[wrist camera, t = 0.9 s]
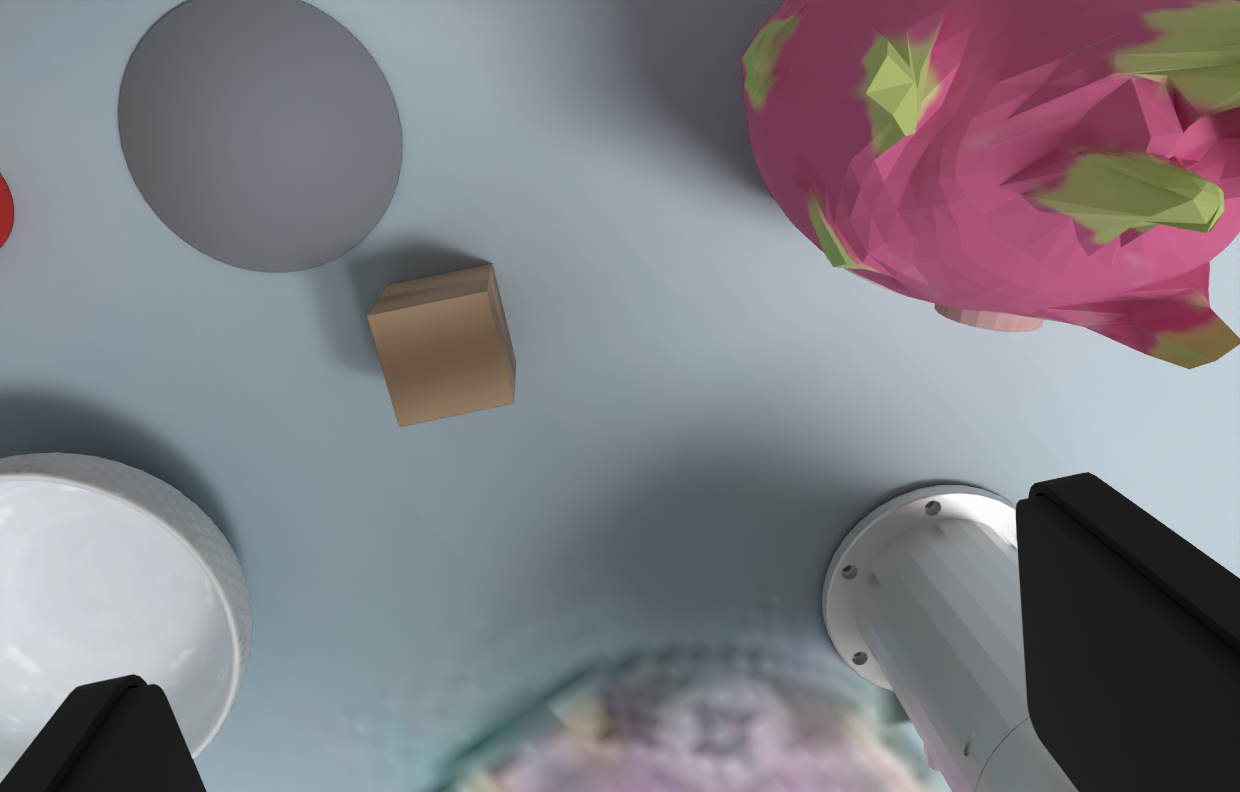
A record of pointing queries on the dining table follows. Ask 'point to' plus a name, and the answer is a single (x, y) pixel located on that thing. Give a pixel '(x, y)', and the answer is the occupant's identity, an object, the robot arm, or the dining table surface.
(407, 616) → the dining table surface
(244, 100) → the disc
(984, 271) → the pink dragon fruit
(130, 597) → the cereal bowl
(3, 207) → the paper cup
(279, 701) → the dining table surface
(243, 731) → the dining table surface
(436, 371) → the walnut block
